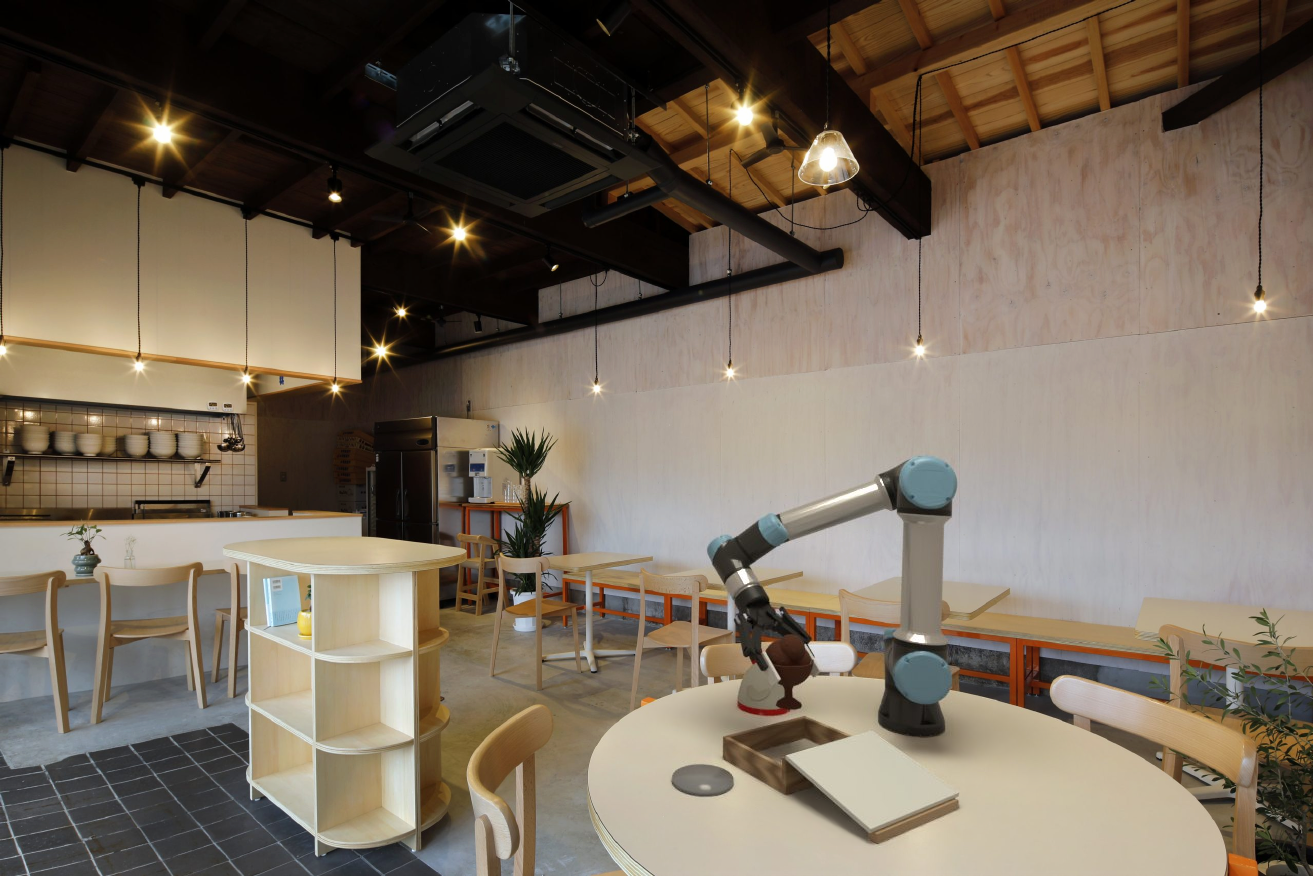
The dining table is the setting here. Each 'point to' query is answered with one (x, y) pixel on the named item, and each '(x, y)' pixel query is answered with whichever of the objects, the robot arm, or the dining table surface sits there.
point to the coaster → (702, 780)
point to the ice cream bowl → (790, 667)
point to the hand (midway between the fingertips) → (797, 678)
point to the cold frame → (747, 743)
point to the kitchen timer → (759, 693)
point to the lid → (876, 784)
